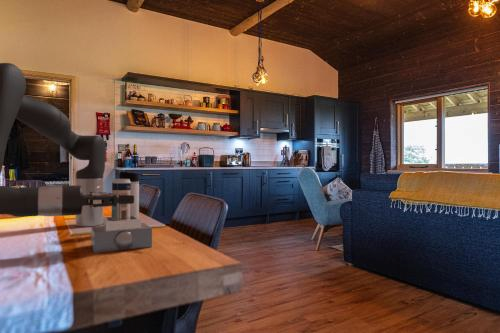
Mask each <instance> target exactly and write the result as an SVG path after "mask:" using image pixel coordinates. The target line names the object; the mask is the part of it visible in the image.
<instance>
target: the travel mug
mask: <svg viewBox="0 0 500 333" xmlns="http://www.w3.org/2000/svg"><path fill="white" fill-rule="evenodd" d="M118 174H119V175H118V179H129V180H130V182H131V195H133V196H134V203H133V204H131V209H130V216H131V215H135V216H137V217H138V218H140V184H139V183H140V173H137V172H127V171H120V172H119V173H118Z"/></svg>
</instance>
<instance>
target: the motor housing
mask: <svg viewBox="0 0 500 333" xmlns="http://www.w3.org/2000/svg"><path fill="white" fill-rule="evenodd" d="M90 228H91V231H90V236H91V237H90V243H91V244H90V246H91V248H92V252H93V254H99V253H101V254H102V253H108V252H119V251H126V250H127V251H128V250H136V249H145V248H152V247H153V227H151V226H150V225H148V224H147V223H145V222H142V219H141V218H140V217H139V218H138V217H137V216H135V215H131V216H130V220H116V221H112V216H105V217H104V216H103V217H102V224H101V225H96V226H90Z"/></svg>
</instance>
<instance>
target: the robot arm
mask: <svg viewBox="0 0 500 333" xmlns="http://www.w3.org/2000/svg"><path fill="white" fill-rule="evenodd" d="M26 90H27V81H26V77H25V74H24V73H23V71H22V70H21V69H20V68H19V67H18V66H17V65H15V64H13V63H10V62H0V175H2V174H1V173H2V171H3V170H2V169H3V165H4V159H5V154H6V153H5V152H6V148H7V144H8V139H9V137H10V134H11V131H12V128H13V125H14V123H15V121H16V119H17V120H18V121H19V122H21V123H23V124H25V125H27V126H28V127H30V128H31V129H32V130H33V131H34V130H35V132H37V133H39V134H40V135H42V136H44V137H46V138H47V139H49V140H51V141H52V142H53V143H55V144H56V145H58V146H60V147H61V148H62V149H64V150H65V151H66V152H67V153H68V154H70V155H71V156H72V157H73V158H74V159H77V160H79V161H88V164H87V165H86V166H84V167H83V168H81V169H78V170H76V172H75V185H45V186H23V187H22V186H21V187H20V186H19V187H15V186H7V185H5V186H4V185H0V215H9V216H12V217H16V218H17V217H18V218H19V217H20V218H22V217H26V218H27V217H63V216H64V217H65V216H75V226H76V227H96V226H102V217H104V208H108V207H112V206H117V205H119V204H133V203H134V196H133V195H112V192H107V191H104V173H105V169H106V157H107V156H106V155H107V154H106V153H107V148H106V147H107V146H106V141H105V139H104V138H103V136H101V135H80V134H77V133H76V132H74V131H73V130H72V123H71V120H70V119H69V117H68V116H67V115H66V114H65V113H63V111H61V110H60V109H59V108H57V107H56V106H55V105H52V104H50V103H48V102H46V101H43V100H40V99H37V98H34V97H30V96H26V95H25V94H26Z"/></svg>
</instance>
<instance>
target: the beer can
mask: <svg viewBox="0 0 500 333" xmlns="http://www.w3.org/2000/svg"><path fill="white" fill-rule="evenodd" d="M111 193H112V195H131V182H130V180H129V179H119V178H113V180H112V182H111ZM130 209H131V204H119V205H117V206H111V217H112V221H116V220H130Z"/></svg>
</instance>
